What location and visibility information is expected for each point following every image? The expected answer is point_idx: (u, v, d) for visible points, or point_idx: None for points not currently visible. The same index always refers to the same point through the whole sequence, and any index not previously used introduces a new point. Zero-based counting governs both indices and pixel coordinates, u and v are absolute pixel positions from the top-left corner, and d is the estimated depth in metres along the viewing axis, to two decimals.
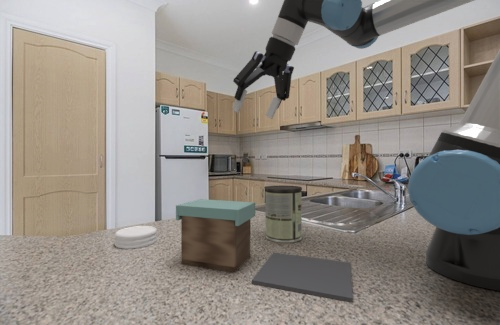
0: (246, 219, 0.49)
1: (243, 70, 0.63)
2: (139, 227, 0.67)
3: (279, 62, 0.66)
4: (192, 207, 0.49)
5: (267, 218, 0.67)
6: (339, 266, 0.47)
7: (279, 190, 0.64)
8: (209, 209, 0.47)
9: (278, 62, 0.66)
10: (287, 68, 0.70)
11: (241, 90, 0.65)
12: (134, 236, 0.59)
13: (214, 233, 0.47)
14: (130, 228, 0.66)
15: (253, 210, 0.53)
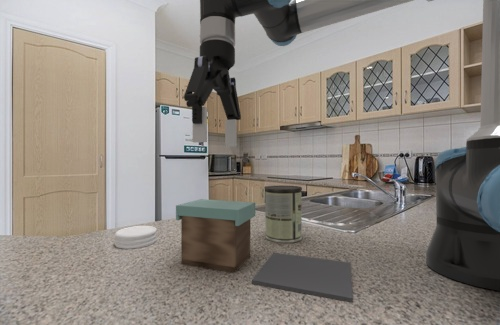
0: (246, 219, 0.49)
1: (192, 81, 0.45)
2: (139, 227, 0.67)
3: (223, 70, 0.53)
4: (192, 207, 0.49)
5: (267, 218, 0.67)
6: (339, 266, 0.47)
7: (279, 190, 0.64)
8: (209, 209, 0.47)
9: (222, 70, 0.52)
10: (229, 80, 0.57)
11: (200, 108, 0.45)
12: (134, 236, 0.59)
13: (214, 233, 0.47)
14: (130, 228, 0.66)
15: (253, 210, 0.53)
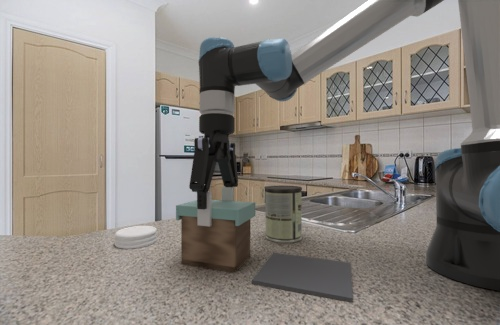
0: (246, 219, 0.49)
1: (195, 168, 0.45)
2: (139, 227, 0.67)
3: (223, 137, 0.53)
4: (192, 207, 0.49)
5: (267, 218, 0.67)
6: (339, 266, 0.47)
7: (279, 190, 0.64)
8: None
9: (222, 139, 0.52)
10: (229, 146, 0.57)
11: (204, 194, 0.46)
12: (134, 236, 0.59)
13: (214, 233, 0.47)
14: (130, 228, 0.66)
15: (253, 210, 0.53)
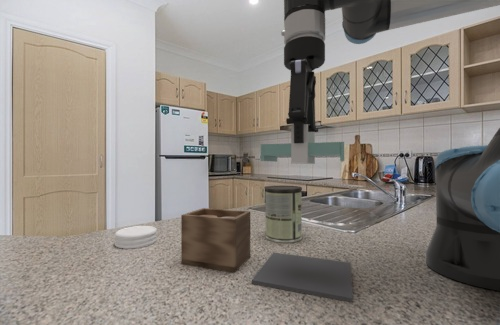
0: None
1: (293, 94, 0.39)
2: (139, 227, 0.67)
3: (310, 69, 0.46)
4: (282, 144, 0.42)
5: (267, 218, 0.67)
6: (339, 266, 0.47)
7: (279, 190, 0.64)
8: None
9: (310, 72, 0.46)
10: None
11: (303, 125, 0.40)
12: (133, 236, 0.59)
13: (214, 233, 0.47)
14: (130, 228, 0.66)
15: None
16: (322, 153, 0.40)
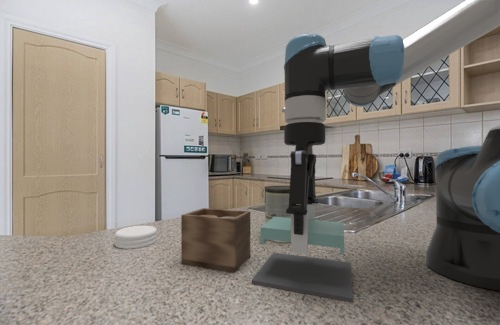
0: None
1: (294, 187, 0.39)
2: (139, 227, 0.67)
3: (311, 148, 0.46)
4: (282, 230, 0.42)
5: (267, 218, 0.67)
6: (339, 266, 0.47)
7: (279, 190, 0.64)
8: None
9: (310, 151, 0.45)
10: None
11: (303, 217, 0.40)
12: (133, 236, 0.59)
13: (214, 233, 0.47)
14: (130, 228, 0.66)
15: None
16: (322, 244, 0.40)
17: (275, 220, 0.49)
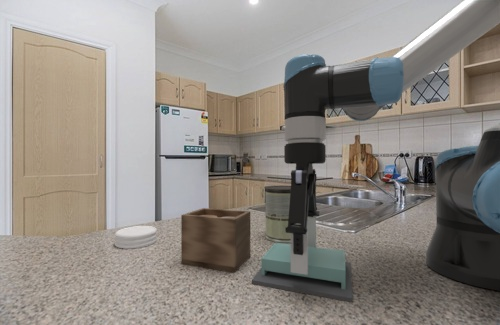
0: None
1: (293, 206, 0.38)
2: (140, 227, 0.67)
3: (311, 169, 0.46)
4: (283, 262, 0.42)
5: (267, 218, 0.67)
6: None
7: (279, 190, 0.64)
8: None
9: (310, 170, 0.45)
10: None
11: (302, 237, 0.38)
12: (133, 236, 0.59)
13: (214, 233, 0.47)
14: (131, 228, 0.66)
15: None
16: (323, 278, 0.40)
17: (276, 248, 0.49)
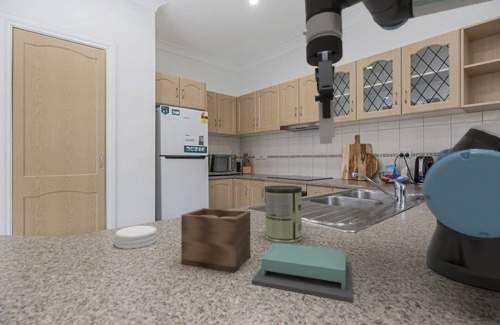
0: None
1: (322, 75, 0.44)
2: (140, 227, 0.67)
3: None
4: (283, 262, 0.42)
5: (267, 218, 0.67)
6: None
7: (279, 190, 0.64)
8: (306, 266, 0.41)
9: None
10: None
11: (330, 102, 0.44)
12: (133, 236, 0.59)
13: (214, 233, 0.47)
14: (131, 228, 0.66)
15: None
16: (323, 278, 0.40)
17: (276, 248, 0.49)
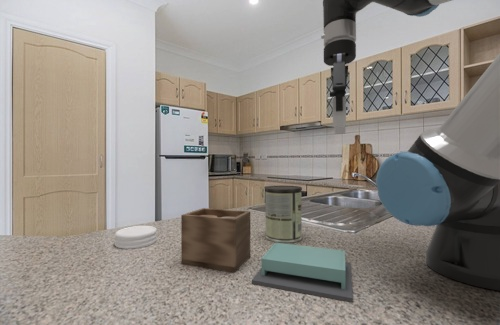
0: None
1: (336, 74, 0.52)
2: (140, 227, 0.67)
3: None
4: (283, 262, 0.42)
5: (267, 218, 0.67)
6: None
7: (279, 190, 0.64)
8: (306, 266, 0.41)
9: None
10: None
11: (342, 97, 0.53)
12: (133, 236, 0.59)
13: (214, 233, 0.47)
14: (131, 228, 0.66)
15: None
16: (323, 278, 0.40)
17: (276, 248, 0.49)
